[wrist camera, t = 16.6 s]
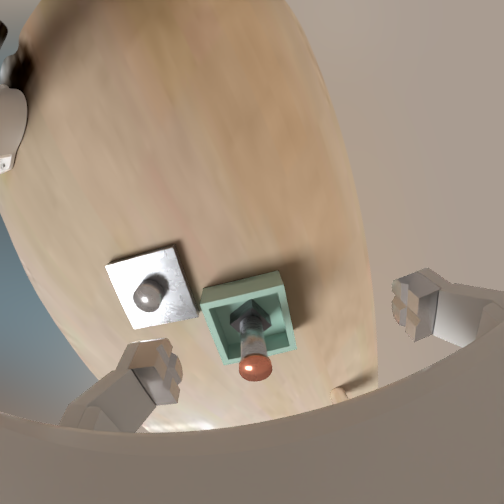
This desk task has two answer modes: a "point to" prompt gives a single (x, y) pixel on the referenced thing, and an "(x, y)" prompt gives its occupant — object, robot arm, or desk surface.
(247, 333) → the strut
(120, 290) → the stud mount
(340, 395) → the milkshake
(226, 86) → the desk surface
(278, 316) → the bin
